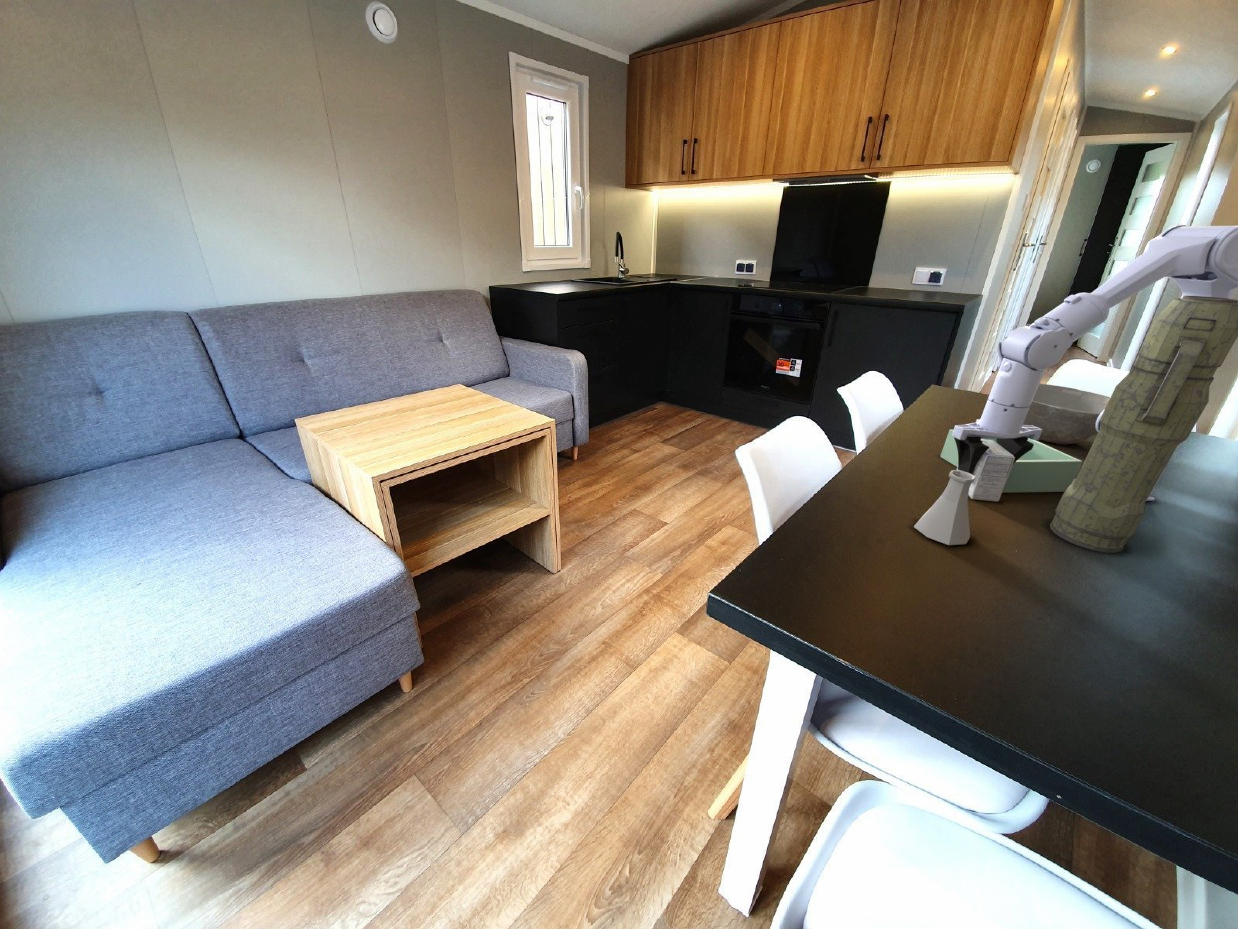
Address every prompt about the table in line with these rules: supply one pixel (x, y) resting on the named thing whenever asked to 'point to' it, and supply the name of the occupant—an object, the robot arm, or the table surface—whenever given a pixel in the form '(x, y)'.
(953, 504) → the flask
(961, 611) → the table surface
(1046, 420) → the ceramic bowl
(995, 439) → the mint green tray
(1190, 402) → the thermos
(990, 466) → the medicine box
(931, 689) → the table surface
